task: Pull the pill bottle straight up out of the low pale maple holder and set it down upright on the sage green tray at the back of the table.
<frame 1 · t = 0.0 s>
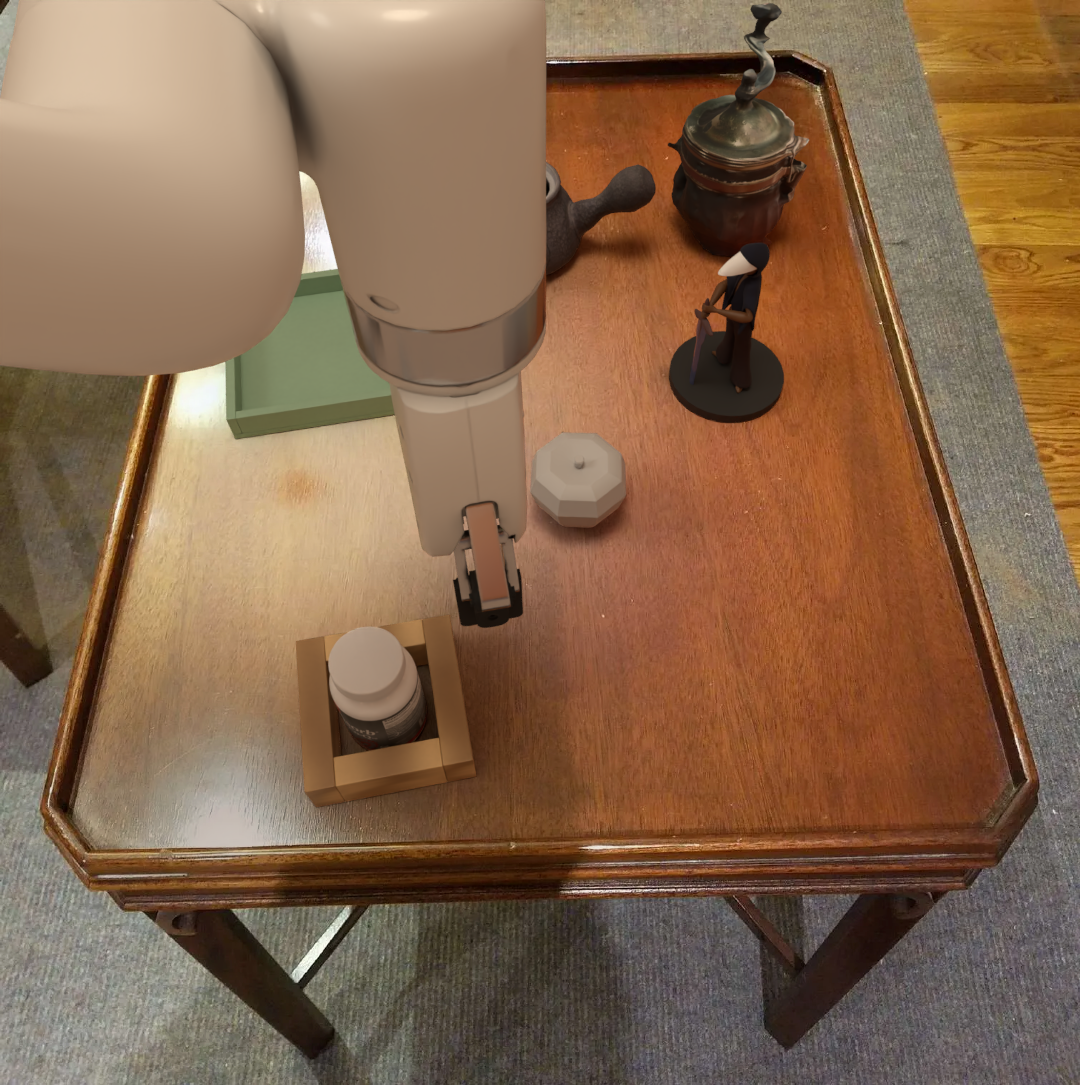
hand: (476, 537, 49), 20 cm above the table, tool pointing down, fingers open, 9 cm apart
holder: (388, 717, 65), on the table
figurine: (724, 380, 82), on the table
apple: (576, 509, 75), on the table
tray: (319, 356, 84), on the table
teapot: (551, 257, 91), on the table
pill bottle: (388, 718, 65), resting in holder
coffee grinder: (720, 220, 94), on the table
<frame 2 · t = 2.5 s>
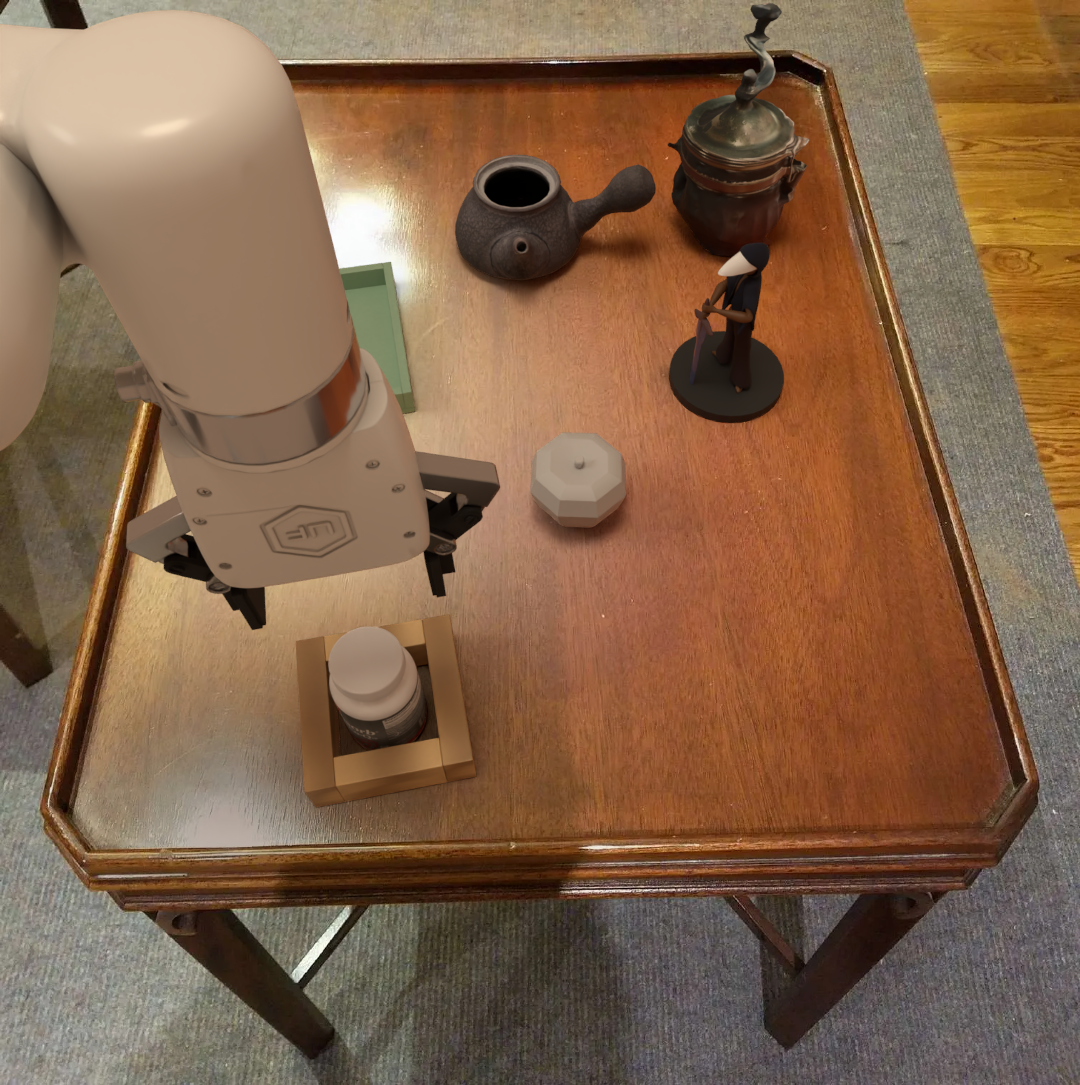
hand: (348, 589, 50), 18 cm above the table, tool pointing down, fingers open, 9 cm apart
nothing on the table moved.
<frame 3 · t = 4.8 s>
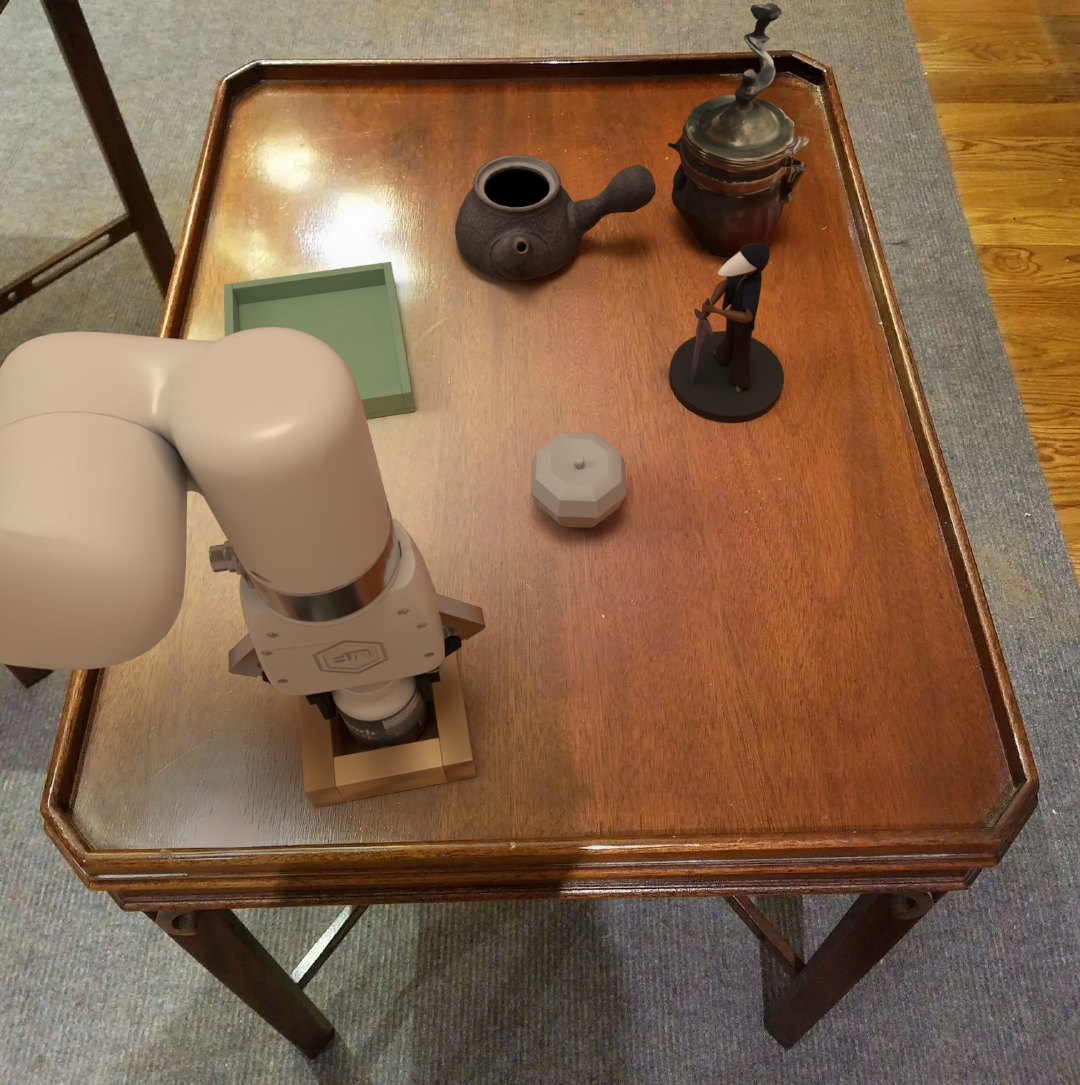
hand: (377, 688, 61), 5 cm above the table, tool pointing down, fingers closed on pill bottle, 5 cm apart
pill bottle: (388, 718, 65), resting in holder, touching gripper
everything else where it was.
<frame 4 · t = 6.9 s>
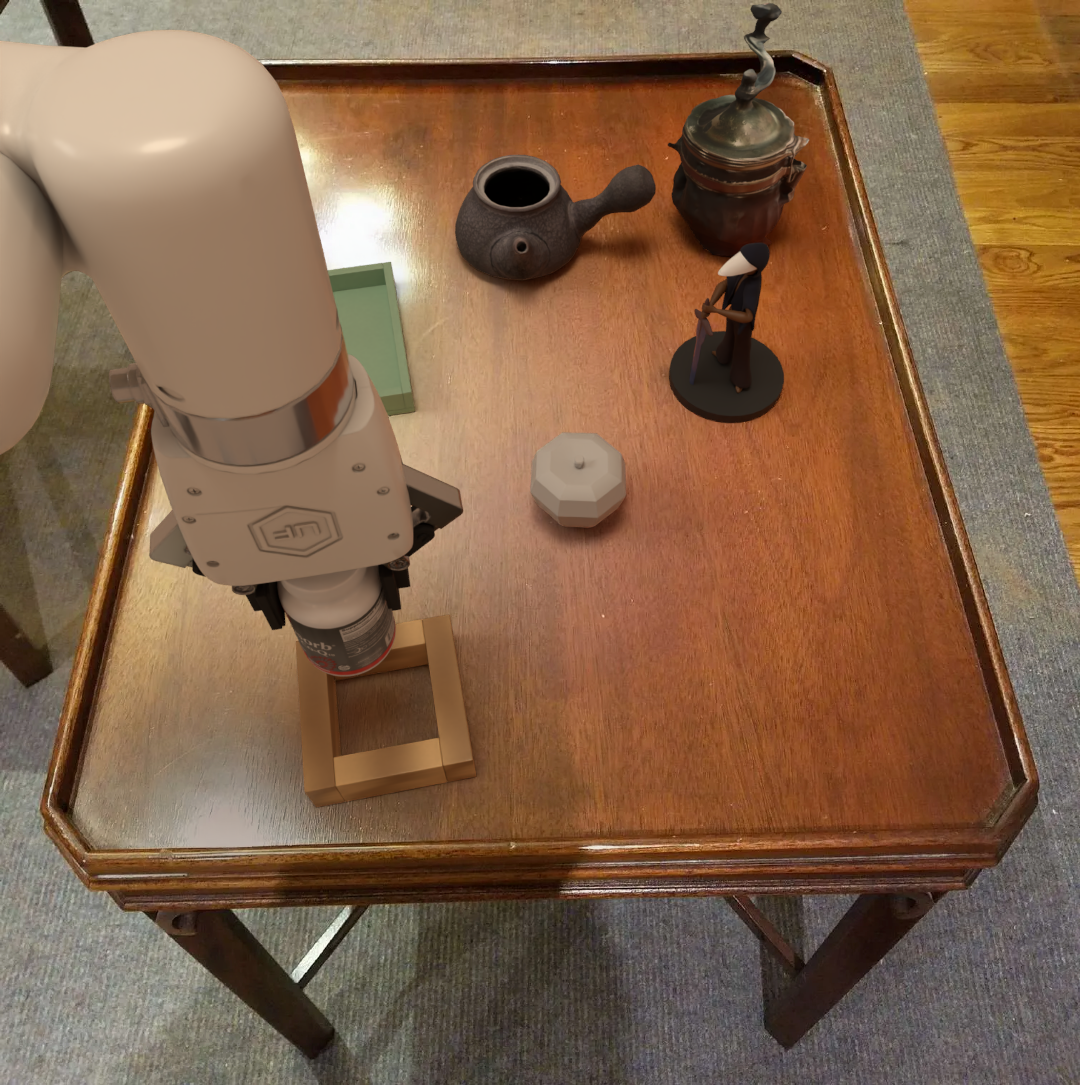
hand: (335, 595, 51), 17 cm above the table, tool pointing down, fingers closed on pill bottle, 5 cm apart
pill bottle: (350, 638, 56), point 11 cm above the table, touching gripper
everything else where it was.
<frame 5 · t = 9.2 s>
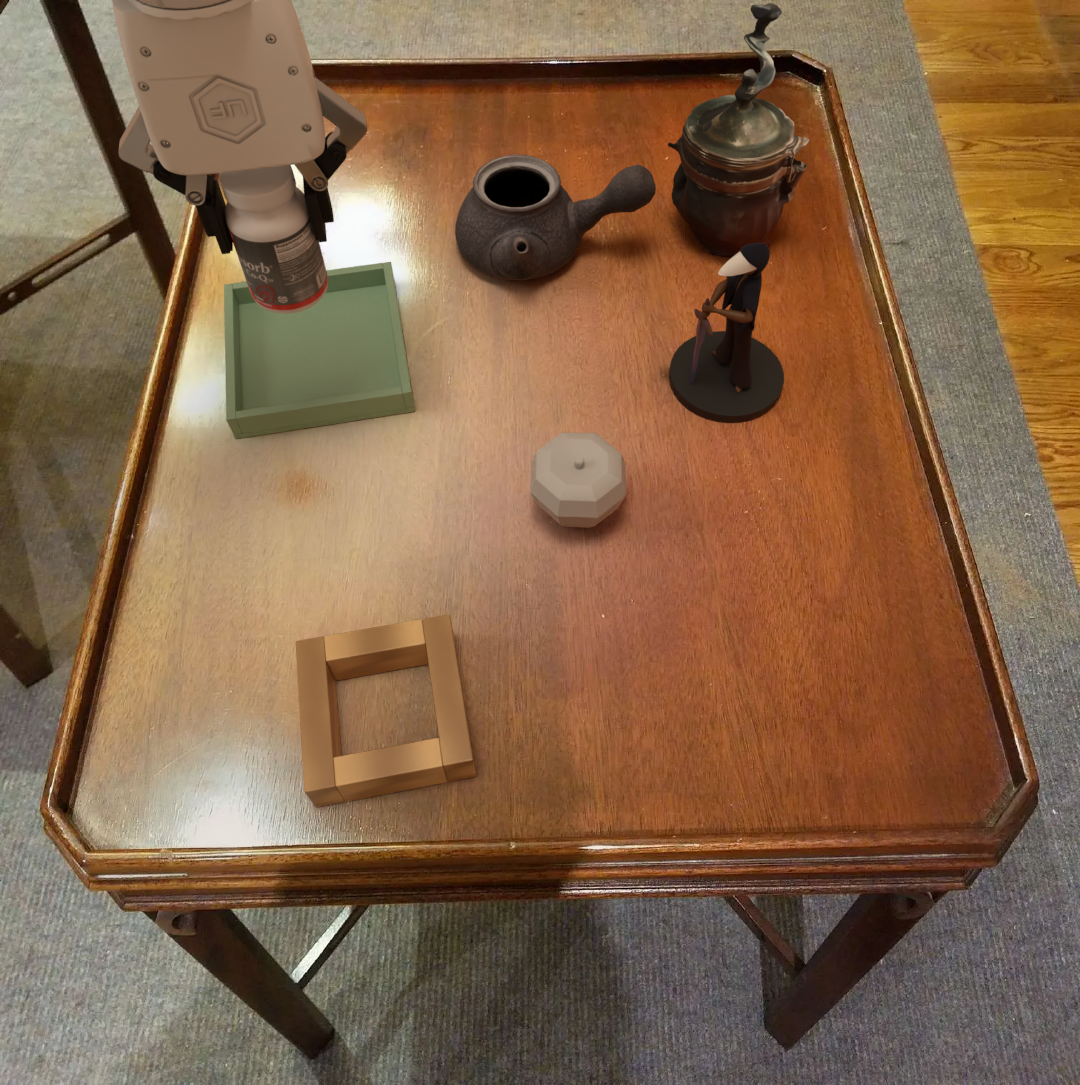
hand: (273, 232, 63), 20 cm above the table, tool pointing down, fingers closed on pill bottle, 5 cm apart
pill bottle: (291, 291, 68), point 14 cm above the table, touching gripper
everything else where it was.
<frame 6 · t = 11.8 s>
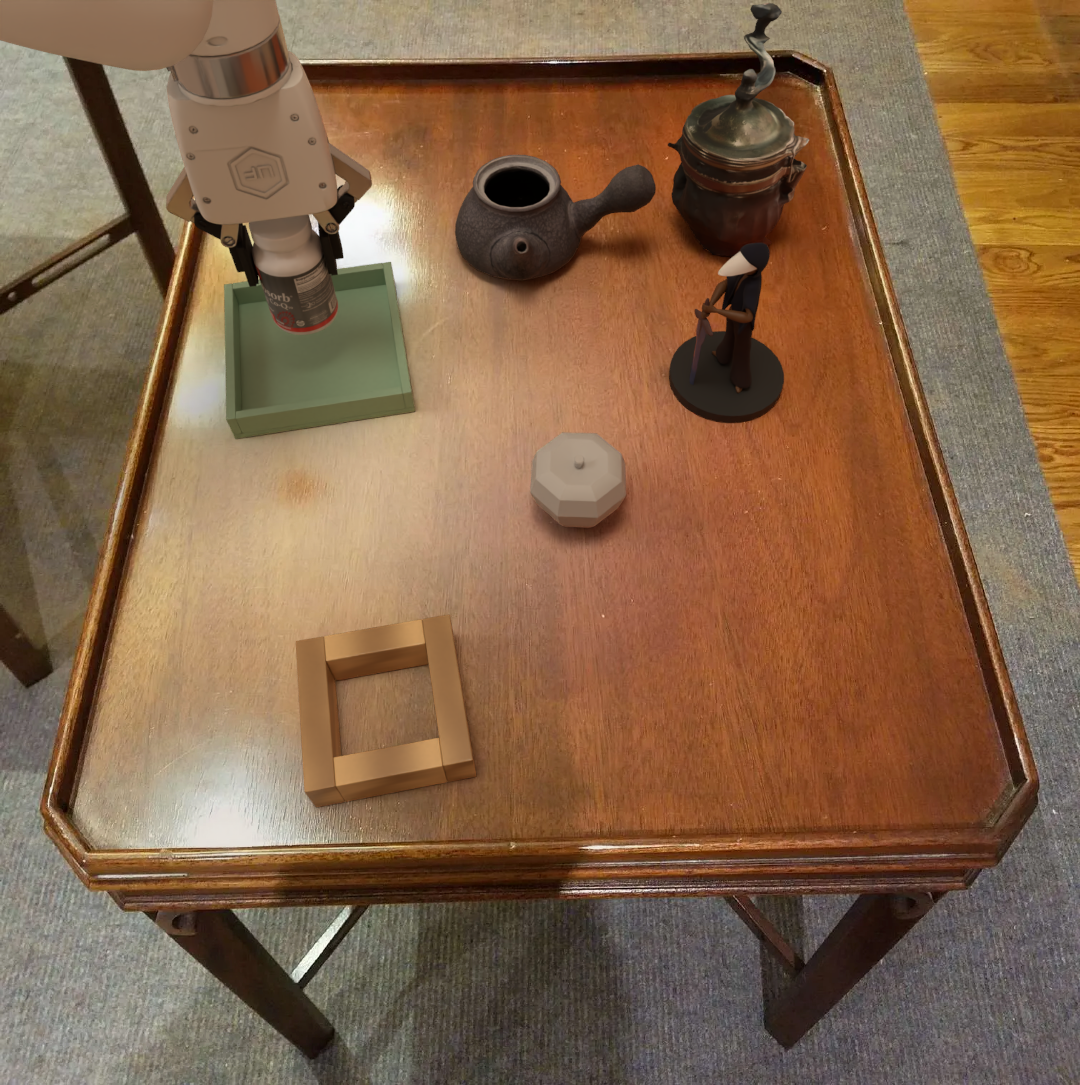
hand: (292, 267, 75), 10 cm above the table, tool pointing down, fingers closed on pill bottle, 5 cm apart
pill bottle: (307, 315, 79), point 5 cm above the table, touching gripper
everything else where it was.
when the fingers open (6 cm above the table, at t = 13.5 s): pill bottle stays where it is, resting on tray.
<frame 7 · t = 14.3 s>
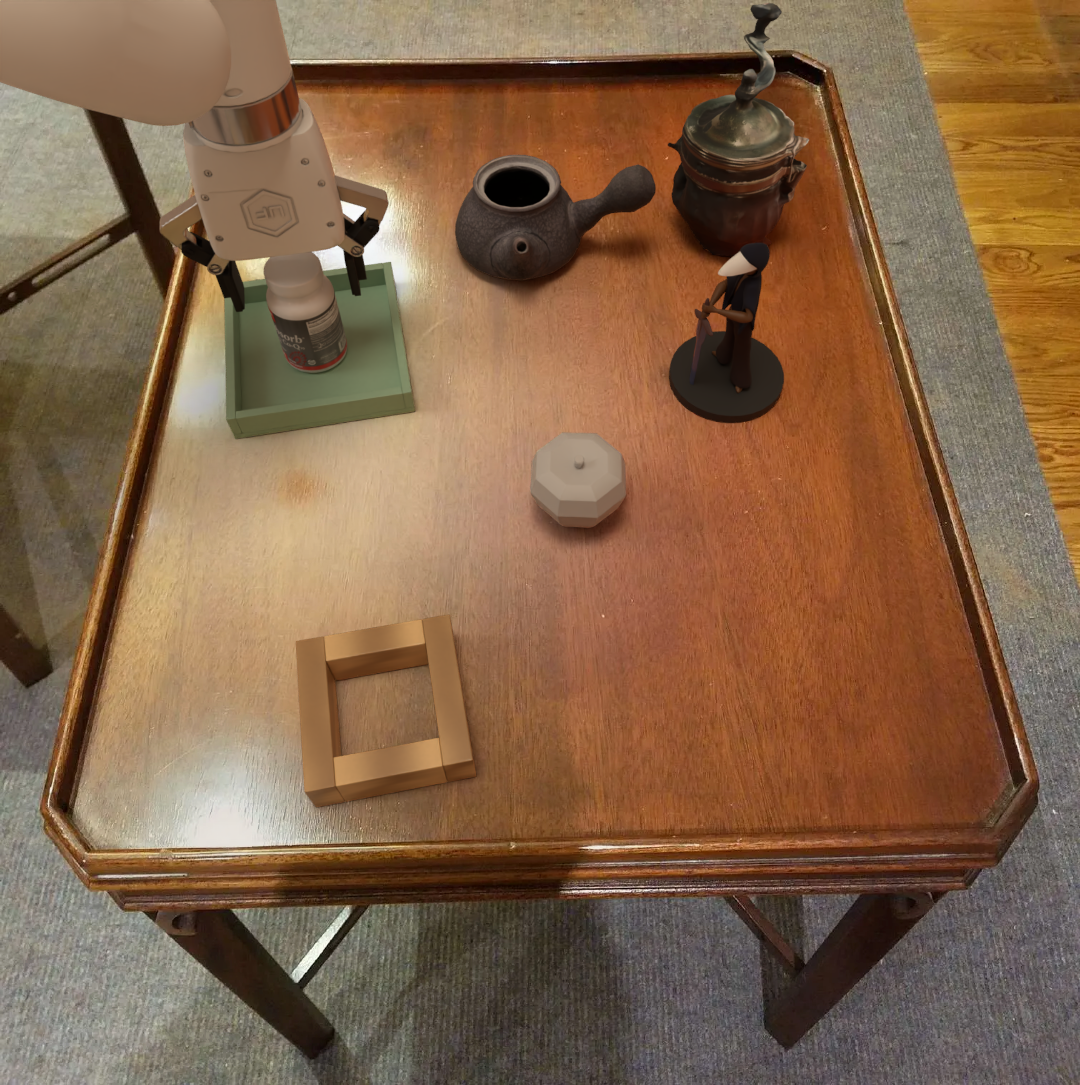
hand: (298, 292, 77), 8 cm above the table, tool pointing down, fingers open, 9 cm apart
pill bottle: (317, 353, 83), resting on tray
everything else where it was.
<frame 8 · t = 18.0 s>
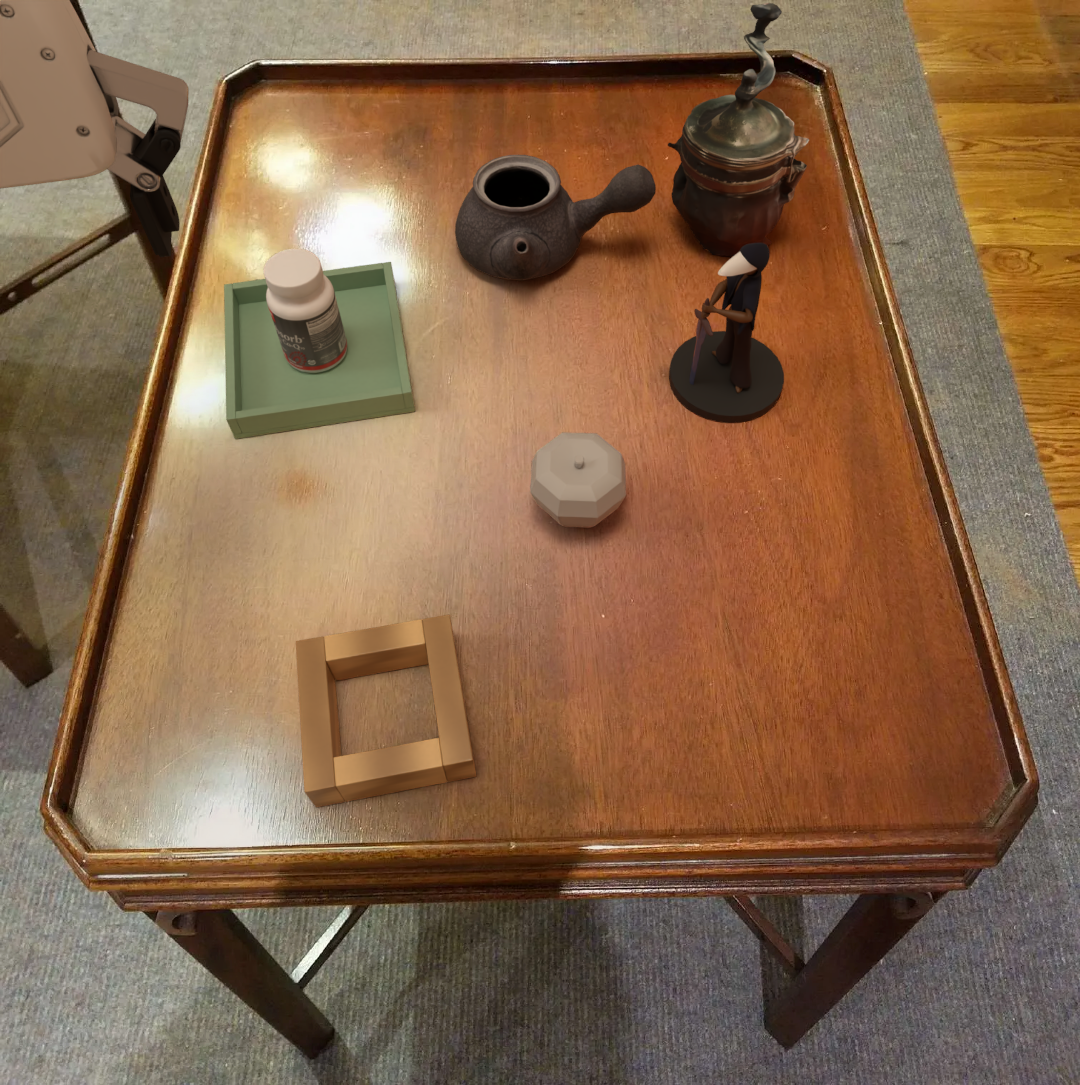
hand: (74, 252, 49), 28 cm above the table, tool pointing down, fingers open, 9 cm apart
nothing on the table moved.
at the end: pill bottle inside the target area in the tray (0.1 cm from its centre), point 0.4 cm above the tray's base; pill bottle tilted 0° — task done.
